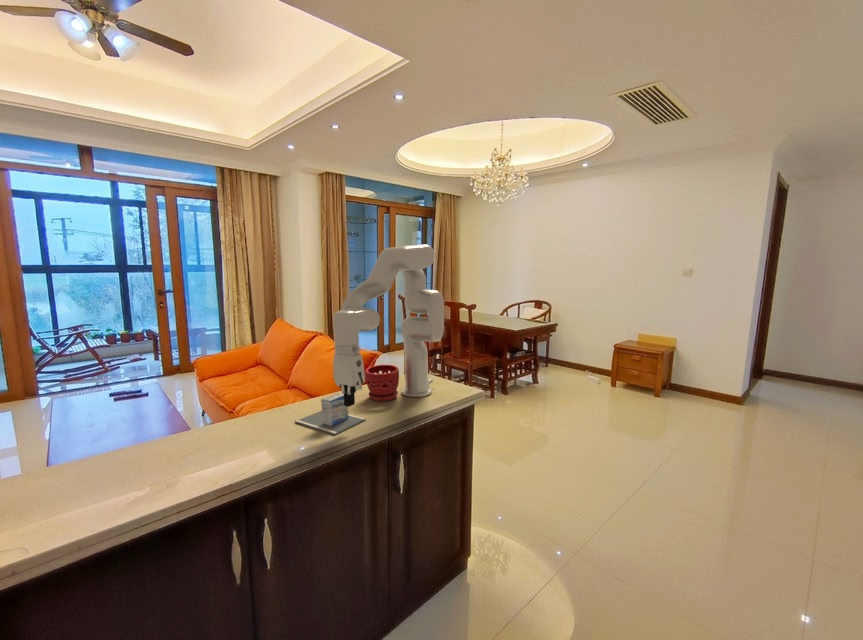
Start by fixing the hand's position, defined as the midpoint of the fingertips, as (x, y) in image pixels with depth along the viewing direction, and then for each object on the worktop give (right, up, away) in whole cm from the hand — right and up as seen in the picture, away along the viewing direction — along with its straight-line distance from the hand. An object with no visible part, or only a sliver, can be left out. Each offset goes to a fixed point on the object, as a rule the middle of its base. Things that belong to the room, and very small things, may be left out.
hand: (349, 405), depth 126 cm
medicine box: (-6, -7, +5) cm, 10 cm away
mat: (-8, -7, +6) cm, 12 cm away
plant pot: (+7, -4, +30) cm, 31 cm away
